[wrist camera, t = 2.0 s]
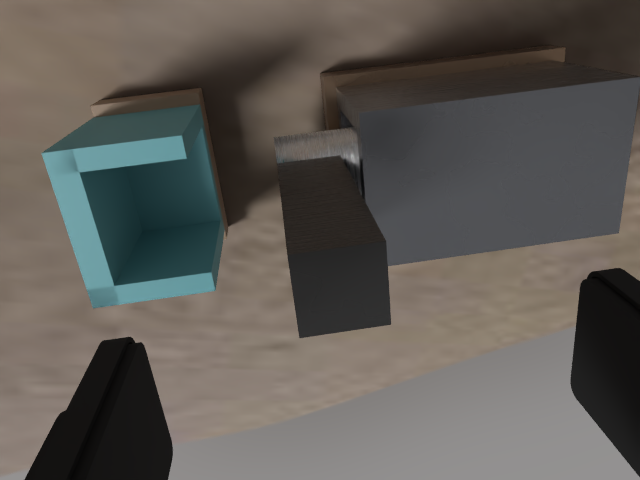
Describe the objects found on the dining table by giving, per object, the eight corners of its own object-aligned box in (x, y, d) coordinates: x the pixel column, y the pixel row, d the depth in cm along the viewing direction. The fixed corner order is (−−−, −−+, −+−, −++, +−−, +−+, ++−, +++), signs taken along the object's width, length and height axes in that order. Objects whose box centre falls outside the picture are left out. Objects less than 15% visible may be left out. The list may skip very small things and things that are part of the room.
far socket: (201, 87, 24) (178, 120, 17) (228, 227, 27) (217, 301, 20) (99, 100, 24) (36, 138, 17) (138, 239, 27) (96, 319, 20)
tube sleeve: (549, 45, 25) (657, 60, 18) (539, 184, 28) (629, 242, 21) (319, 73, 24) (343, 99, 18) (333, 212, 27) (358, 281, 21)
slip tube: (532, 95, 23) (749, 167, 13) (528, 173, 25) (718, 294, 14) (273, 128, 23) (284, 232, 12) (284, 206, 24) (302, 357, 14)
